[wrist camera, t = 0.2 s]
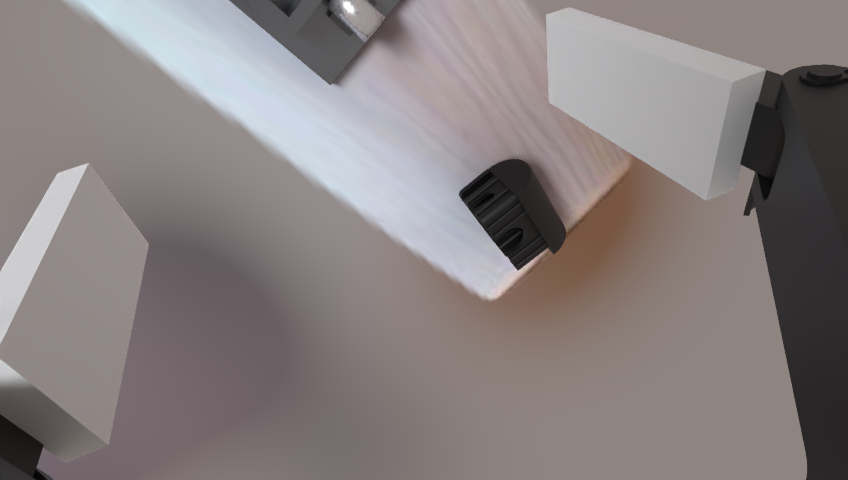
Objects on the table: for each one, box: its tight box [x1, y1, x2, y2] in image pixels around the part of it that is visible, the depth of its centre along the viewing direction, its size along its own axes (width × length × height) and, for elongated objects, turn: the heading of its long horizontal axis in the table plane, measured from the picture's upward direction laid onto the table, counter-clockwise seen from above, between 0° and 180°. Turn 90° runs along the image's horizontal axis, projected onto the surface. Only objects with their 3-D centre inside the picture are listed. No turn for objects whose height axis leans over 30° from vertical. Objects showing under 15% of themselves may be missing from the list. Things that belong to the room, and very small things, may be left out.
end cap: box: [459, 159, 566, 270], centre depth 50 cm, size 10×7×7 cm
